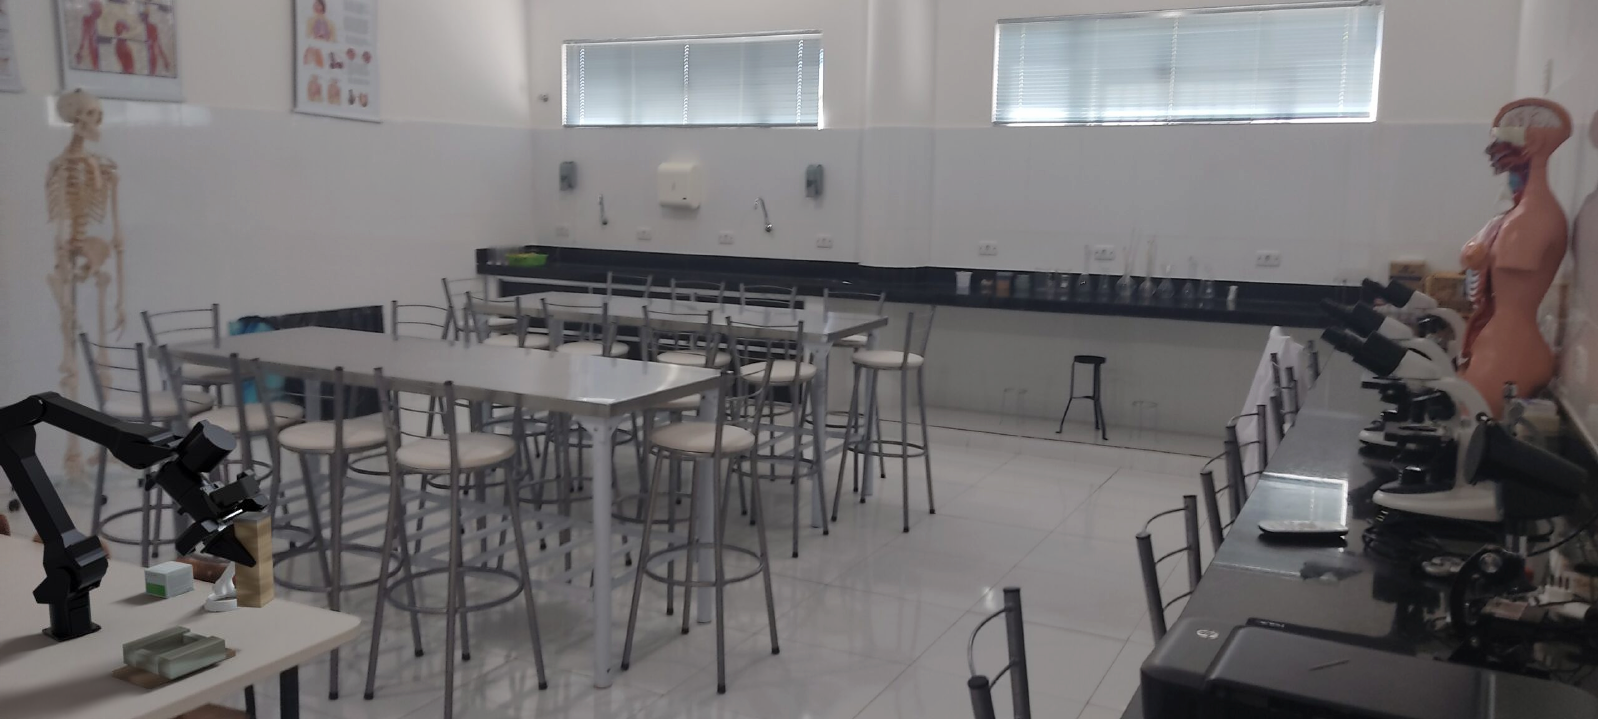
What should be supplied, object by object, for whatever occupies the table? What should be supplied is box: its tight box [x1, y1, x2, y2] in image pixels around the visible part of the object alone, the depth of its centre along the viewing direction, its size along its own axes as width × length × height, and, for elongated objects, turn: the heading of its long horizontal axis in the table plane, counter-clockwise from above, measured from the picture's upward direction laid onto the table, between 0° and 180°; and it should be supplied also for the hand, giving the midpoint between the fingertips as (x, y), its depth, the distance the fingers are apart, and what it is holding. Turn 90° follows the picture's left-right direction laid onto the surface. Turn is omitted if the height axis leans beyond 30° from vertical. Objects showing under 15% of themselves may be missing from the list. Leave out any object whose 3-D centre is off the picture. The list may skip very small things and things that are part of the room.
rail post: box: [233, 511, 275, 609], centre depth 182 cm, size 4×4×15 cm
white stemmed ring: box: [203, 561, 244, 613], centre depth 199 cm, size 8×12×7 cm
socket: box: [111, 625, 237, 690], centre depth 174 cm, size 12×14×4 cm
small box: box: [144, 560, 195, 599], centre depth 205 cm, size 6×6×5 cm
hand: (261, 561), depth 182 cm, fingers closed on rail post, 4 cm apart
